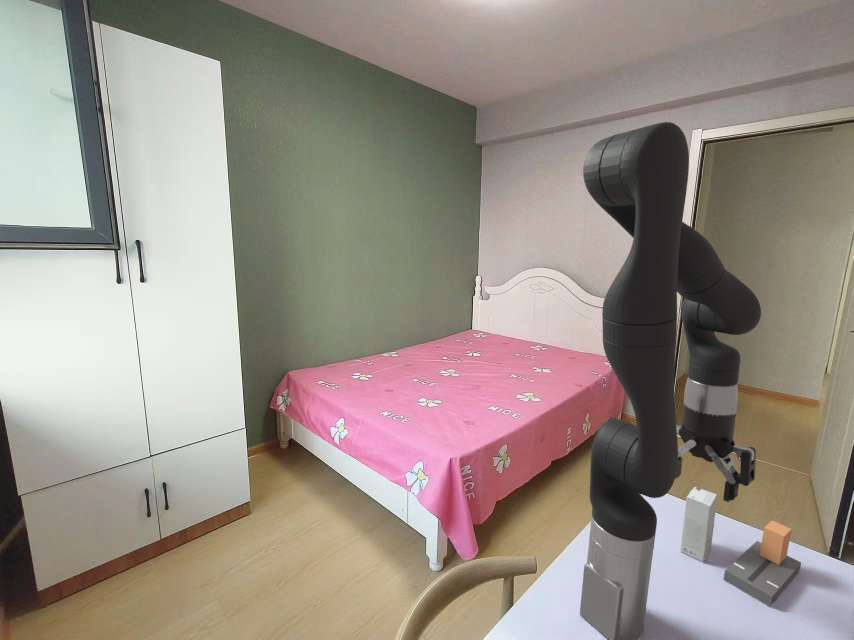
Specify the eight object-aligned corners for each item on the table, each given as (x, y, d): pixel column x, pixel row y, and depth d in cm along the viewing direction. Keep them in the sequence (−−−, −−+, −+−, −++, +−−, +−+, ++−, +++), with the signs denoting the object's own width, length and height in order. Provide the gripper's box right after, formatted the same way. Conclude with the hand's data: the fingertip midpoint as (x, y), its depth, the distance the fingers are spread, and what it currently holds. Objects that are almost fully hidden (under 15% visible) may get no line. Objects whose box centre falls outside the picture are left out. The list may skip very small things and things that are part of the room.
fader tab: (778, 565, 77) (784, 536, 76) (759, 555, 79) (764, 527, 78) (786, 557, 79) (791, 529, 78) (767, 547, 81) (772, 520, 80)
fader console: (770, 607, 70) (771, 596, 70) (723, 579, 76) (724, 569, 76) (799, 571, 78) (801, 562, 78) (755, 549, 84) (757, 540, 84)
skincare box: (704, 563, 80) (712, 507, 78) (678, 551, 83) (685, 496, 81) (711, 548, 84) (719, 494, 82) (686, 537, 87) (694, 485, 85)
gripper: (656, 397, 74) (650, 476, 77) (750, 425, 62) (738, 517, 66) (676, 387, 78) (670, 463, 81) (769, 411, 66) (757, 499, 70)
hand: (700, 487), depth 74 cm, fingers open, 8 cm apart
